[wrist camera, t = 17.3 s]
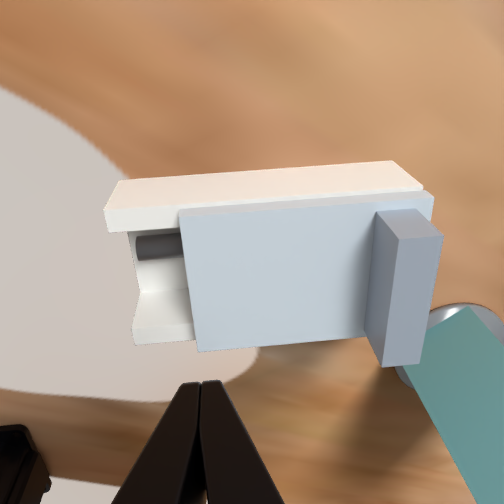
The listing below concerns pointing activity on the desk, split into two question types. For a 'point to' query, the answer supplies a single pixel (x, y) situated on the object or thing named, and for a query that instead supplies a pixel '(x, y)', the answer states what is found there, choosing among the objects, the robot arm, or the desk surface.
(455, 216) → the desk surface
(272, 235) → the cover
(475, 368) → the teal box
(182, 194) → the white channel beam
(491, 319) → the coaster
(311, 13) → the desk surface
